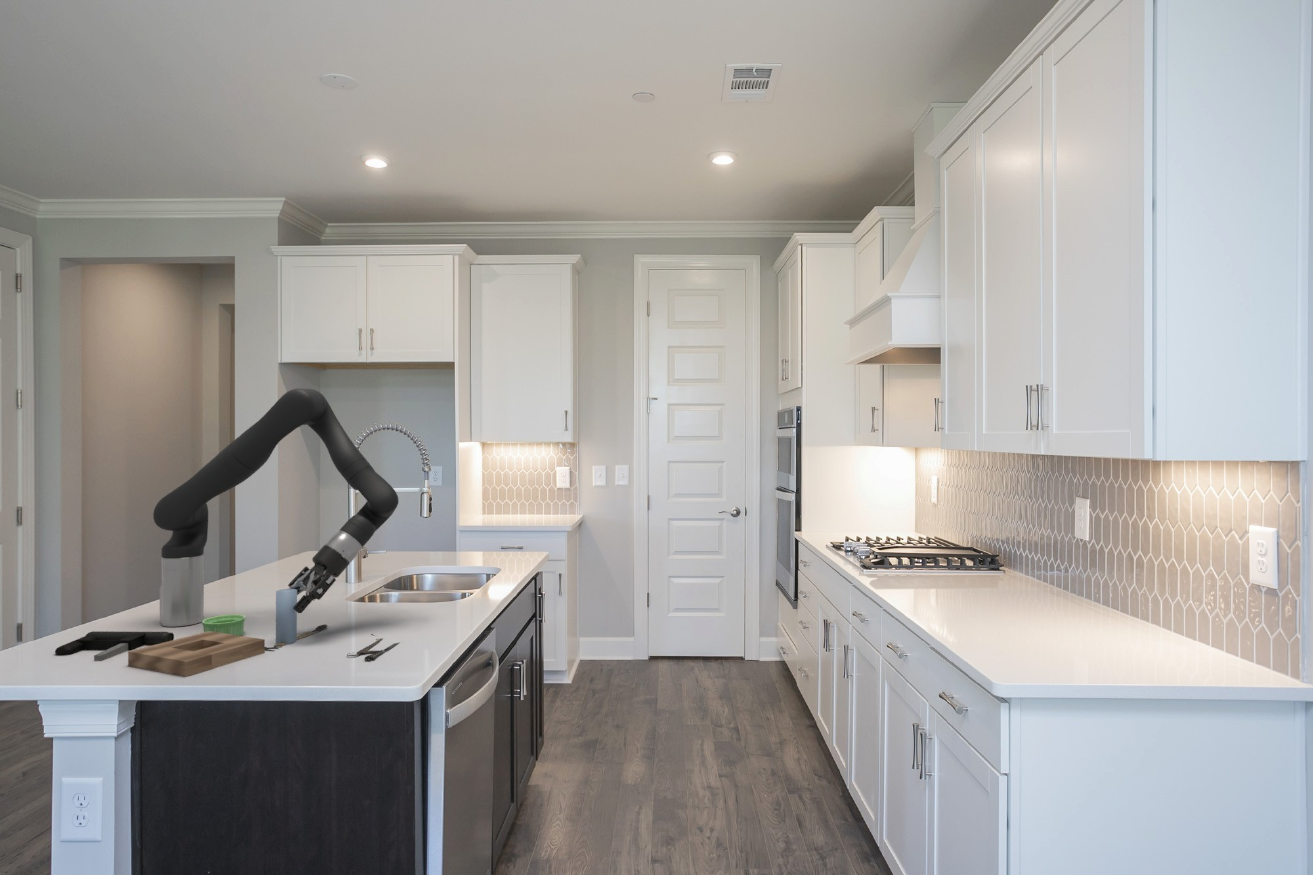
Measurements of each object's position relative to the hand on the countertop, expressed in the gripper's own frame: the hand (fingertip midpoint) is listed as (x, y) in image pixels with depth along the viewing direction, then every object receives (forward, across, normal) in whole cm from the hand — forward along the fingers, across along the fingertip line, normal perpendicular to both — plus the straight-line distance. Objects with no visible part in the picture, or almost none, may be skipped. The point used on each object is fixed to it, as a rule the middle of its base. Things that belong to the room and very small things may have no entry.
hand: (289, 608), depth 177 cm
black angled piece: (+27, -22, -15) cm, 38 cm away
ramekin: (+12, -16, 0) cm, 20 cm away
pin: (+6, 0, +5) cm, 8 cm away
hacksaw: (-2, +18, +14) cm, 23 cm away
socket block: (+19, 0, -8) cm, 20 cm away
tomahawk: (+4, 0, +8) cm, 9 cm away
